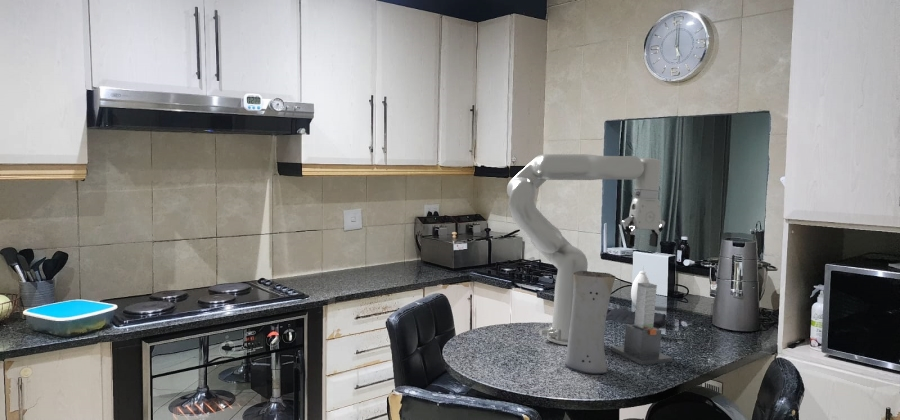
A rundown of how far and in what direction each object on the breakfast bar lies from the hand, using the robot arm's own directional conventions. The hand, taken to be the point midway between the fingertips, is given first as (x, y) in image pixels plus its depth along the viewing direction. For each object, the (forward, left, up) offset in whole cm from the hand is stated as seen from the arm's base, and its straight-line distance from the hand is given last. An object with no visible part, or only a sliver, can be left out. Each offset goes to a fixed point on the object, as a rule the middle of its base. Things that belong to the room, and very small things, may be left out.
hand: (641, 246), depth 203 cm
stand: (-7, -12, -33) cm, 36 cm away
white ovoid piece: (+40, +44, -34) cm, 68 cm away
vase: (-31, -17, -34) cm, 49 cm away
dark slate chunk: (+22, +25, -34) cm, 47 cm away
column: (-7, -12, -26) cm, 29 cm away
